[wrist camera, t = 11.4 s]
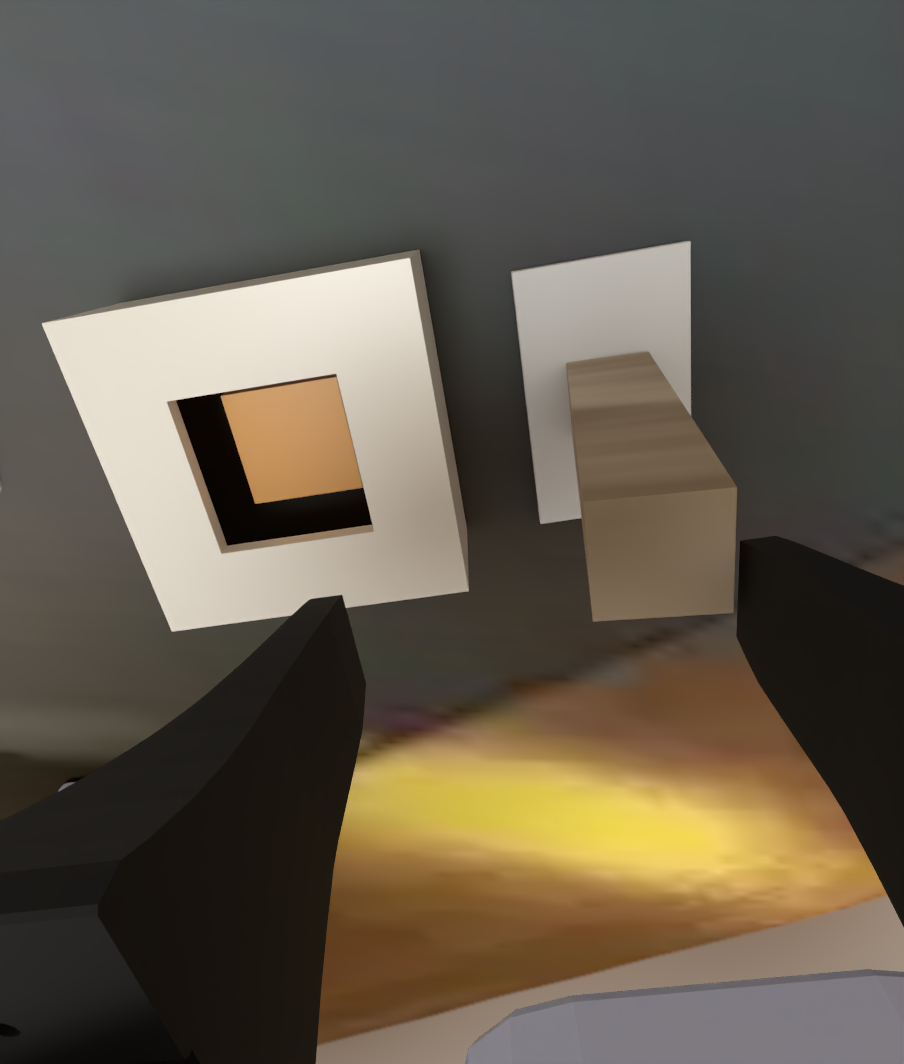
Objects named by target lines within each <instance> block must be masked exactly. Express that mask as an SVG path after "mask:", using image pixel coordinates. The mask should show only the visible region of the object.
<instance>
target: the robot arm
mask: <svg viewBox="0 0 904 1064" xmlns="http://www.w3.org/2000/svg"><path fill="white" fill-rule="evenodd" d="M737 639H738V641H739V643H740V645H741V647H742V650H743V652H744V654H745V656H746V658H747V660H748V663H749V665H750V667H751V669H752V671H753V673H754V675H755V677H756V679H757V681H758V683H759V684H760V686H761V687H762V689H763V690H764V692H765V694H766V695H767V697H768V698H769V700H770V701H771V703H772V704H773V706H774V707H775V709H776V710H777V712H778V713H779V715H780V716H781V718H782V719H783V721H784V722H785V724H786V725H787V727H788V728H789V729H790V731H791V732H792V734H793V735H794V737H795V738H796V740H797V741H798V743H799V744H800V746H801V747H802V749H803V750H804V752H805V753H806V755H807V756H808V757H809V759H810V760H811V762H812V763H813V765H814V766H815V768H816V769H817V771H818V772H819V774H820V775H821V777H822V778H823V780H824V781H825V783H826V784H827V785H828V787H829V789H830V790H831V792H832V793H833V795H834V797H835V798H836V800H837V802H838V803H839V805H840V806H841V808H842V810H843V811H844V813H845V815H846V817H847V818H848V820H849V822H850V824H851V826H852V828H853V830H854V832H855V833H856V835H857V837H858V839H859V841H860V843H861V845H862V847H863V848H864V850H865V852H866V854H867V856H868V858H869V860H870V861H871V863H872V865H873V867H874V869H875V871H876V873H877V875H878V877H879V879H880V881H881V883H882V885H883V887H884V889H885V891H886V893H887V895H888V897H889V899H890V900H891V903H892V905H893V907H894V908H895V911H896V913H897V915H898V917H899V919H900V920H901V922H902V924H903V926H904V586H903V585H900V584H898V583H895V582H892V581H890V580H887V579H885V578H882V577H880V576H877V575H875V574H872V573H870V572H867V571H865V570H862V569H860V568H857V567H855V566H852V565H850V564H848V563H845V562H843V561H840V560H838V559H836V558H833V557H831V556H828V555H826V554H823V553H821V552H819V551H816V550H814V549H811V548H809V547H806V546H804V545H801V544H798V543H796V542H793V541H790V540H787V539H784V538H781V537H777V536H772V537H765V538H758V539H750V540H743V541H740V559H739V585H738V611H737ZM365 688H366V682H365V678H364V674H363V671H362V667H361V663H360V659H359V656H358V652H357V648H356V644H355V641H354V637H353V633H352V629H351V626H350V622H349V618H348V615H347V611H346V607H345V603H344V600H343V596H342V595H336V596H329V597H321V598H314V599H310V600H308V601H307V602H306V603H305V604H304V605H302V606H301V607H300V608H299V609H298V610H297V611H296V612H295V613H294V614H293V615H292V616H291V617H290V618H289V619H288V620H287V621H286V622H285V623H284V624H283V625H281V626H280V627H279V628H278V629H277V630H276V631H275V632H274V633H273V634H272V635H271V636H270V637H269V638H268V639H267V640H266V641H265V642H264V643H263V644H262V645H261V646H260V647H259V648H258V649H257V650H256V651H255V652H254V653H253V654H251V655H250V656H249V657H248V658H247V659H246V660H245V661H244V662H243V663H242V664H241V665H239V666H238V667H237V668H236V669H235V670H234V671H233V672H231V673H230V674H229V675H228V676H227V677H226V678H225V679H223V680H222V681H221V682H220V683H219V684H218V685H217V686H215V687H214V688H213V689H212V690H211V691H210V692H209V693H207V694H206V695H205V696H204V697H203V698H201V699H200V700H199V701H198V702H196V703H195V704H194V705H192V706H191V707H190V708H189V709H187V710H186V711H185V712H183V713H182V714H181V715H179V716H178V717H176V718H175V719H174V720H172V721H171V722H170V723H168V724H167V725H165V726H164V727H163V728H161V729H160V730H159V731H157V732H156V733H154V734H153V735H151V736H150V737H148V738H147V739H145V740H144V741H142V742H140V743H139V744H137V745H136V746H134V747H133V748H131V749H129V750H128V751H126V752H125V753H123V754H121V755H120V756H118V757H117V758H115V759H114V760H112V761H110V762H109V763H107V764H106V765H104V766H102V767H101V768H99V769H98V770H96V771H94V772H93V773H91V774H89V775H87V776H86V777H84V778H82V779H80V780H78V781H77V782H71V783H66V784H64V785H62V786H61V788H60V789H59V791H58V792H57V793H55V794H53V795H51V796H49V797H47V798H45V799H43V800H41V801H39V802H37V803H36V804H34V805H32V806H30V807H28V808H26V809H24V810H22V811H20V812H18V813H16V814H14V815H12V816H10V817H8V818H5V819H3V820H1V821H0V1064H315V1063H316V1050H317V1037H318V1023H319V1010H320V997H321V984H322V973H323V963H324V952H325V942H326V931H327V921H328V912H329V903H330V895H331V886H332V877H333V868H334V862H335V856H336V851H337V845H338V840H339V835H340V831H341V826H342V822H343V817H344V812H345V808H346V803H347V799H348V794H349V790H350V785H351V781H352V776H353V772H354V767H355V763H356V758H357V753H358V749H359V744H360V739H361V734H362V728H363V716H364V704H365ZM465 1064H904V972H897V971H881V970H867V969H866V970H855V971H843V972H832V973H820V974H809V975H798V976H787V977H775V978H764V979H754V980H741V981H731V982H719V983H708V984H696V985H685V986H674V987H663V988H652V989H641V990H629V991H617V992H607V993H596V994H583V995H573V996H568V997H565V998H561V999H556V1000H552V1001H548V1002H544V1003H540V1004H537V1005H533V1006H528V1007H525V1008H521V1009H516V1010H515V1011H513V1012H512V1013H511V1014H509V1015H508V1016H507V1017H505V1018H504V1019H503V1020H501V1021H500V1022H499V1023H497V1024H496V1025H495V1026H493V1027H492V1028H491V1029H489V1030H488V1031H487V1032H485V1033H484V1034H483V1035H481V1036H480V1037H479V1038H478V1039H477V1040H476V1041H475V1042H474V1043H473V1044H472V1045H471V1046H470V1047H469V1048H468V1053H467V1057H466V1062H465Z"/></svg>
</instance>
